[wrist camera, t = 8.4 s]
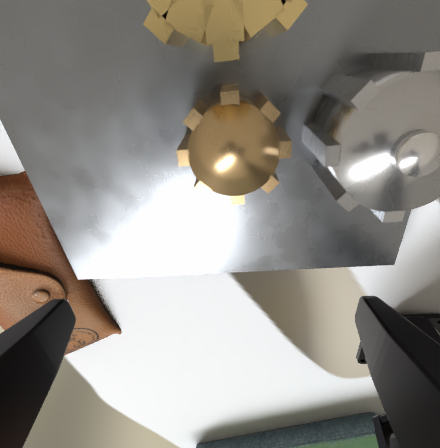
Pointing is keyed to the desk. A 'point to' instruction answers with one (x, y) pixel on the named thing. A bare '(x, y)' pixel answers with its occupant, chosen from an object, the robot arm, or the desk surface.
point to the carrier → (224, 135)
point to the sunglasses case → (41, 267)
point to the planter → (310, 435)
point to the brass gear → (220, 22)
